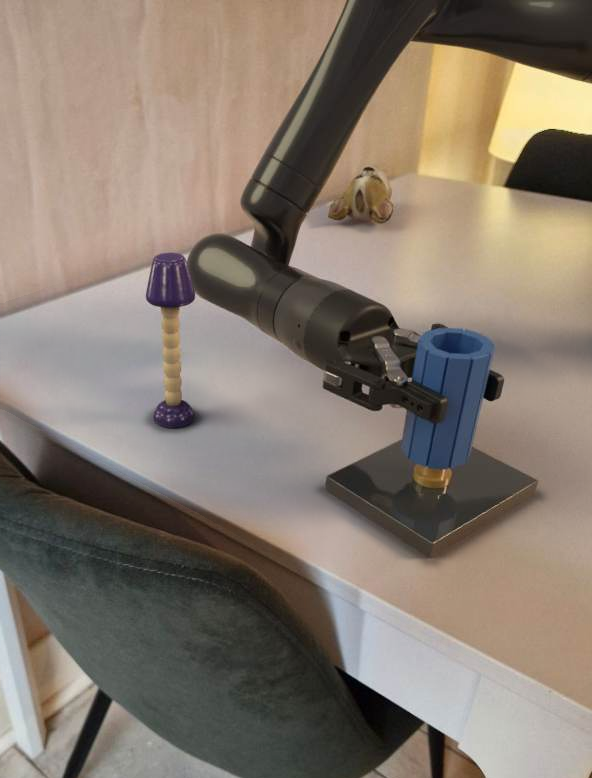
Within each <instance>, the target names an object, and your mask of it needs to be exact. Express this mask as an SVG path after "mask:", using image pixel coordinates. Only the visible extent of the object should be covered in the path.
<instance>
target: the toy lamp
mask: <svg viewBox="0 0 592 778" xmlns="http://www.w3.org/2000/svg"><path fill="white" fill-rule="evenodd" d="M146 286H147V287H146V291H145V300H146V302H147V303H149V304H150V305H152V306H154V307H158V308H160V312H161V315H162V318H161V323H160V324H161V329H162V331H163V332H162V335H161V341H162V345H163V347H162V359H163V361H164V362H163V366H162V369H163V374H164V375H165V376H164V378H163V385H164V388H165V391H164V400H162V401H161V402H159V403H158V405H157V406H156V407H155V409H154V412H153V422H154V423H155V424H156V425H158V426H161V427H165V428H170V429H174V428H181V427H185V426H187V425H189V424H191V423H192V422H193V421H194V419H195V412H194V409H193V407H192V406H191V405H190V403H188V402H187V401H186V400H184V399H183V392H182V390H181V388H182V382H183V379H182V376H181V373H182V363H181V361H180V359H181V355H182V351H181V348H180V344H181V333H180V332H179V330H180V327H181V320H180V317H179V314H180V309H181V308H182V307H185V306H189V305H190V304H192V303H193V302H194V301H195V300H196V293H195V291H194V287H193V283H192V279H191V276H190V272H189V268H188V265H187V259H186V257H185V256H184V255H183V254H181V253H177V252H163V253H159V254H157V255H155V256H154V257H153V259H152V262H151V267H150V271H149V276H148V280H147V285H146Z"/></svg>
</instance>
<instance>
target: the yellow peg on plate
mask: <svg viewBox="0 0 592 778" xmlns="http://www.w3.org/2000/svg"><path fill="white" fill-rule="evenodd" d="M401 443H402V439H399V440H398V441H396V442H394V443H391V444H389V445H387V446H386V447H383V448H381V449H380V450H376V451H375V452H373V453H370V454H369V455H367V456H365V457H363V458H361V459H358V460H357V461H354V462H352V463H350V464H348V465H346V466H344V467H342V468H340V469H338V470H336V471H334V472H332V473H330V474H328V475H326V477H325V486H324V487H325V488H324V490H325V491H326V492H328V493H329V494H331V495H333V496H334V497H336V498H337V499H339V500H340V501H342V502H343V503H345V504H347V505H348V506H350V508H352V509H354V510H355V511H357V512H359V513H361V514H362V515H363V516H365V517H366V518H368V519H370V520H371V521H373V522H374V523H376V524H378V525H379V526H380V527H382V528H384V529H385V530H386V531H388V532H390V533H391V534H393V535H394V536H395V537H397V538H399V539H400V540H402V541H403V542H405V543H406V544H408V545H409V546H411V547H413V548H415V549H416V550H417V551H418V552H420V553H422V554H423V555H425V556H426V557H428V558H432V557H433V556H436V555H437V554H440V552H442V551H444V550H445V549H447V548H449V547H450V546H452V545H454V544H455V543H457V542H458V541H459V540H462V539H463V538H465V537H466V536H468V535H470V534H471V533H473V532H475V531H476V530H478V529H480V528H482V527H484V525H486V524H488V523H490V522H492V521H493V520H494V519H496V518H498V517H499V516H501V515H502V514H504V513H506V512H507V511H509V510H512V509H513V508H514V507H515V506H518V505H519V504H521V503H522V502H524V501H525V500H527V499H529V498H530V497H532V496H534V495H535V494H536V490H537V486H538V483H539V480H538V479H536V478H534V477H532V476H531V475H529V474H527V473H525V472H523V471H520V470H519V469H517V468H515V467H513V466H511V465H509V464H507V463H505V462H503V461H502V460H499V459H497V458H496V457H493V456H492V455H490V454H487V453H485V452H483V451H482V450H480V449H477V448H475V447H474V446H472V449H471V454H470V456H469V458H468V460H467V462H466V463H465V464H464V465H461V466H458V467H455V468H452V469H449V468H448V469H434V468H428V466H426V467H424V466H422V465H419V464H417V463H415V462H413V461H410V458H409V459H408V458H407V457H406V455H405V454H404V452H403V451H402V449H401Z"/></svg>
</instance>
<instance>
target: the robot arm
mask: <svg viewBox="0 0 592 778" xmlns="http://www.w3.org/2000/svg"><path fill="white" fill-rule="evenodd" d="M411 42H413V43H424V44H431V45H440V46H445V47H454V48H455V47H456V48H463V49H467V50H472V51H473V50H474V51H478V52H483V53H486V54H489V55H493V56H496V57H498V58H501V59H503V60H504V59H505V60H508V61H511V62H514V63H516V64H519V65H523V66H526V67H530V68H533V69H535V70H539V71H543V72H547V73H550V74H553V75H558V76H561V77H564V78H567V79H570V80H573V81H577V82H582V83H585V84H586V83H587V84H591V85H592V0H345V4H344V6H343V8H342V11H341V13H340V15H339V18H338V20H337V23H336V24H335V26H334V29H333V31H332V33H331V35H330V37H329V39H328V41H327V43H326V45H325V47H324V49H323V50H322V53H321V55H320V57H319V58H318V60H317V63H316V64H315V65H314V67H313V69H312V72H311V73H310V75H309V77H308V78H307V80H306V81H305V83H304V85H303V87H302V89H301V90H300V92H299V93H298V95H297V97H296V98H295V100H294V102H293V104H292V105H291V106H290V108H289V110H288V112H287V113H286V115H285V116H284V118H283V119H282V121H281V123H280V125H279V126H278V128H277V130H276V131H275V133H274V135H273V136H272V138H271V140H270V142H269V143H268V145H267V146H266V149H265V151H264V152H263V154H262V156H261V157H260V159H259V161H258V163H257V164H256V167H255V168H254V170H253V172H252V174H251V176H250V178H249V180H248V181H247V183H246V184H245V187H244V189H243V191H242V194H241V196H240V200H239V204H240V207H241V210H242V211H243V212H244V214H245V215H246V216H247V217H248V218H249V220H251V221H252V222H253V223H252V224H253V225H254V228H253V229H254V231H253V235H252V240H251V244H250V245H249V244H247V243H246V242H243V241H242V240H240V239H238V238H236V237H235V236H233V235H230V234H227V233H221V232H219V233H213V234H212V233H211V234H209V235H206V236H204V237H202V238H201V239H200V240H198V241H197V242H196V243H195V244H194V245H193V247H192V248H191V249H190V251H189V254H188V256H187V259H186V261H187V265H188V268H189V272H190V276H191V279H192V283H193V287H194V291H195V295H196V296H198V297H199V298H201V299H202V300H204V301H206V302H209V303H211V304H212V305H214V306H217V307H218V308H221V309H223V310H224V311H227V312H229V313H231V314H233V315H235V316H238V317H239V318H242V319H244V320H246V321H247V322H249V323H250V324H252V325H253V326H254V327H256V328H257V329H259V330H260V331H261V332H262V333H264V334H265V335H268V336H269V337H271V338H272V339H274V340H276V341H278V342H279V343H282V344H283V345H284V346H286V347H287V348H288V349H289V350H290V351H291V352H292V353H294V354H295V355H297V356H298V357H300V358H301V359H303V360H305V361H307V362H308V363H310V364H312V365H313V366H315V367H317V368H319V369H320V370H322V371H323V377H322V389H323V390H325V391H327V392H329V393H331V394H334V395H336V396H338V397H340V398H343V399H345V400H347V401H349V402H351V403H354V404H356V405H357V406H360V407H362V408H364V409H367V410H369V411H371V412H372V411H373V412H379V411H382V410H383V406H385V405H389V406H390V407H391V408H394V409H402V408H403V409H404V410H406V411H407V410H408V411H410V412H412V413H413V414H415V415H417V416H418V417H420V418H422V419H426V420H428V421H430V422H431V423H433V424H437V423H440V422H442V421H444V419H445V416H446V411H447V406H448V401H447V399H446V397H445V396H443V395H441V394H439V393H437V392H435V391H434V390H432V389H430V388H428V387H426V386H424V385H422V384H420V383H419V382H417V381H415V380H412V376H413V370H414V363H415V357H416V351H417V345H418V340H419V339H420V337H421V336H422V334H419V333H418V332H416V331H414V330H408V329H405V328H401V327H400V326H399V325H398V323H397V321H396V319H395V318H394V315H393V313H392V312H391V310H390V309H389V308H388V307H387V306H386V305H385V304H383V303H380V302H378V301H376V300H374V299H372V298H370V297H367V296H365V295H362V294H360V293H359V292H356V291H354V290H352V289H350V288H348V287H345V286H343V285H341V284H339V283H337V282H334V281H332V280H328V279H323V278H319V277H317V276H315V275H312V274H311V273H308V272H306V271H305V270H302V269H300V268H297V267H294V266H291V265H290V263H291V259H292V256H293V253H294V251H295V246H296V243H297V240H298V236H299V233H300V229H301V228H302V227H301V226H302V224H303V222H305V220H306V218H307V217H308V214H309V213H310V211H311V210H312V208H313V206H314V204H315V203H316V201H317V199H318V198H319V196H320V195H321V193H322V190H323V189H324V187H325V186H326V184H327V182H328V181H329V179H330V177H331V175H332V174H333V171H334V170H335V168H336V167H337V164H338V162H339V160H340V159H341V156H342V155H343V153H344V151H345V149H346V147H347V145H348V144H349V141H350V139H351V137H352V135H353V134H354V132H355V129H356V128H357V126H358V124H359V123H360V121H361V118H362V116H363V114H364V113H365V111H366V110H367V108H368V106H369V104H370V103H371V100H372V99H373V97H374V96H375V94H376V92H377V90H378V89H379V87H380V85H381V84H382V82H383V81H384V79H385V78H386V76H387V74H388V73H389V72H390V70H391V68H393V66H394V64H395V63H396V61H397V60H398V58H399V57H400V55H401V54H402V53H403V51H404V50H405V49H406V48H407V46H408V45H409V44H410V43H411ZM438 328H442V329H443V328H449V327H448V326H446V324H445V325H444V324H443V323H433V324H431V327H430V330H434V329H438ZM409 379H411V380H410V381H409ZM504 383H505V378H504V376H503V375H502V374H500V373H499V372H497V371H495V370H493V369H490V371H489V375H488V380H487V384H486V389H485V393H484V397H483V400H486V401H488V402H494V401H497V400H499V399H500V398H501V396H502V391H503V387H504ZM363 385H364V386H366V387H368V388H369V389H368V394H367V393H365V392H364V391H363Z"/></svg>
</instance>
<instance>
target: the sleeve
mask: <svg viewBox="0 0 592 778" xmlns="http://www.w3.org/2000/svg"><path fill="white" fill-rule="evenodd" d="M421 335H422V336H421V337H420V339H419V340H418V345H417V351H416V357H415V363H414V370H413V376H412V378H411V381H412V380H415V381H417V382H419V383H420V384H422V385H424V386H426V387H428V388H430V389H432V390H434V391H435V392H437V393H439V394H441V395H443V396H445V397H446V399H447V401H448V406H447V411H446V416H445V419H444V421H442V422H440V423H437V424H433V423H431V422H430V421H428V420H426V419H422V418H420V417H418V416H417V415H415V414H413V413H412V412H410V411H408V410H406V412H405V418H404V426H403V432H402V438H401V440H402V443H401V449H402V451H403V452H404V454H405V455H406V457H407V458H408V459H409V458H410V461H413V462H415V463H417V464H419V465H422V466H424V467H426V466H428V468H434V469H448V468H449V469H452V468H455V467H458V466H461V465H464V464H465V463H466V462H467V460H468V458H469V456H470V454H471V449H472V447H473V445H474V440H475V435H476V431H477V427H478V422H479V418H480V414H481V409H482V406H483V401H484V398H483V397H484V393H485V389H486V384H487V380H488V375H489V371H490V370H491V367H492V362H493V357H494V354H495V348H496V345H495V343H494V342H493V341H492V340H491V339H490V338H489V337H488V336H487V335H484V334H482V333H479V332H477V331H473V330H470V329H464V328H462V327H461V328H460V327H448V328H443V329H442V328H438V329H434V330H431V329H429V330H426V331H425V332H423V333H422V334H421Z"/></svg>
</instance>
